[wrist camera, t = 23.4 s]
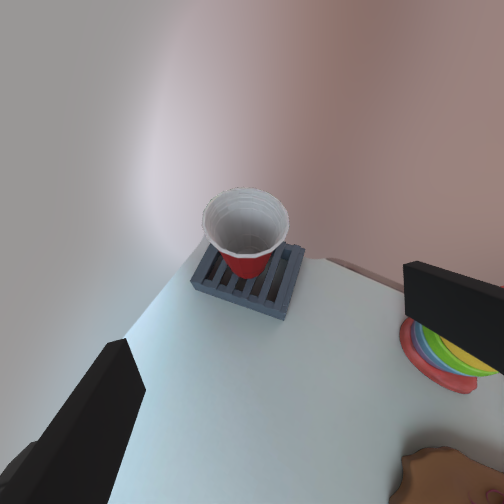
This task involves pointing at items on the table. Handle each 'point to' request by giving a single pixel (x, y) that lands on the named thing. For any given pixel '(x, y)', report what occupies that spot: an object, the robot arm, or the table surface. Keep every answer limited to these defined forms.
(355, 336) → the table surface
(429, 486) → the plant
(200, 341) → the table surface
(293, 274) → the dish rack
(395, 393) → the table surface
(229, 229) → the plastic cup
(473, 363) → the stacking bear
